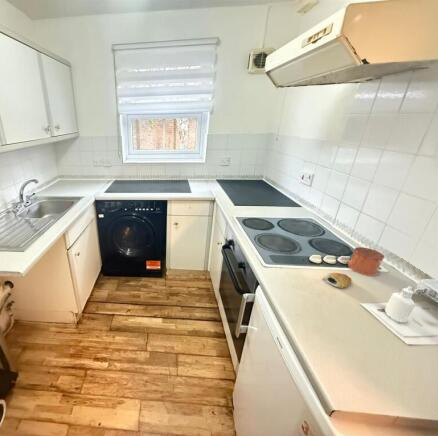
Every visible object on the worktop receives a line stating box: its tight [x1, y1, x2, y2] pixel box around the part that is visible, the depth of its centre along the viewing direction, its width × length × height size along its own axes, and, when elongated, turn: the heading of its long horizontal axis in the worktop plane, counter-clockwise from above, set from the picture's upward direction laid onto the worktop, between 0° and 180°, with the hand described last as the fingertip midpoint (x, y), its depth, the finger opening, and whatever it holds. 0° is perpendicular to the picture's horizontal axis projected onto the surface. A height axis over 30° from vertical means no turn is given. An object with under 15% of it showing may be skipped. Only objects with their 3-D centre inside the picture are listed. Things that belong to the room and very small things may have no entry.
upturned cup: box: [347, 246, 385, 277], centre depth 100 cm, size 10×10×8 cm
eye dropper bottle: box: [384, 285, 416, 324], centre depth 75 cm, size 4×6×12 cm
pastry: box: [323, 272, 352, 289], centre depth 93 cm, size 9×7×4 cm
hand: (430, 302), depth 74 cm, fingers open, 8 cm apart
